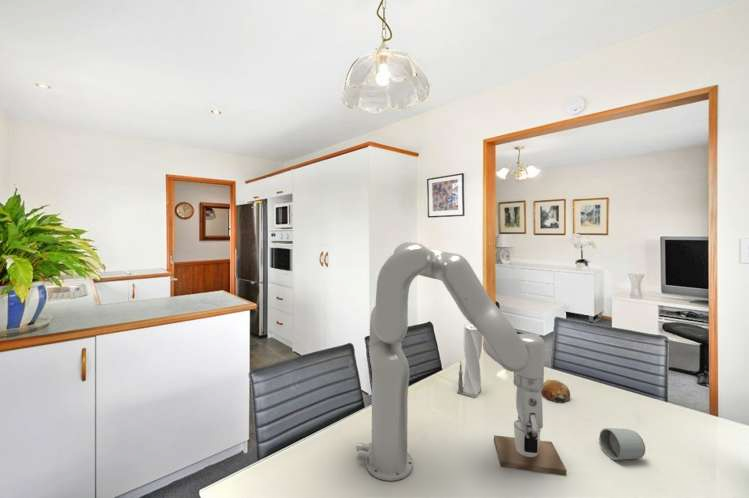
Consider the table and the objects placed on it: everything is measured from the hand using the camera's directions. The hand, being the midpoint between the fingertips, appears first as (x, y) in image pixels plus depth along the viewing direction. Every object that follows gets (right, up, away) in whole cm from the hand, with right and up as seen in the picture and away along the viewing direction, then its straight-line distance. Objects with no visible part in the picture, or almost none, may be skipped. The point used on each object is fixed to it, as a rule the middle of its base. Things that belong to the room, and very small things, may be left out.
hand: (526, 442), depth 93 cm
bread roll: (+27, -3, +35) cm, 44 cm away
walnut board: (0, -4, 0) cm, 4 cm away
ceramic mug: (+26, -4, +2) cm, 27 cm away
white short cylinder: (0, -3, 0) cm, 3 cm away
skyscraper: (-4, -3, +39) cm, 39 cm away
